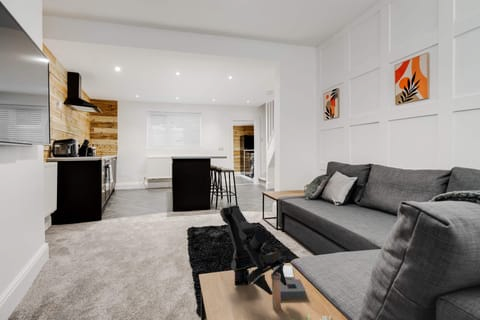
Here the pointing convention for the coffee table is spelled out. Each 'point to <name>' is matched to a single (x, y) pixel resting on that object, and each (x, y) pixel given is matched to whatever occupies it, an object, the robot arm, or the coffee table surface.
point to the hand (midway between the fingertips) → (279, 289)
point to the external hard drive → (288, 272)
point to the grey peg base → (292, 289)
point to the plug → (276, 291)
